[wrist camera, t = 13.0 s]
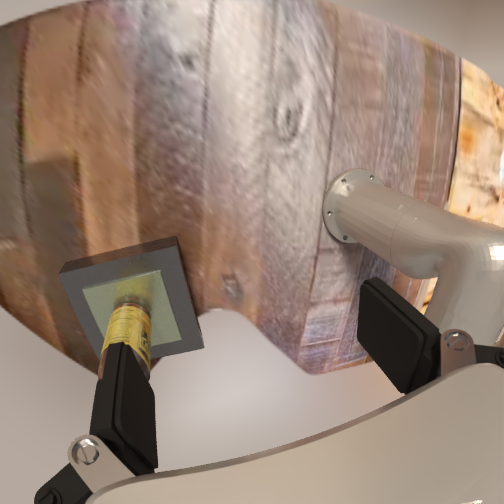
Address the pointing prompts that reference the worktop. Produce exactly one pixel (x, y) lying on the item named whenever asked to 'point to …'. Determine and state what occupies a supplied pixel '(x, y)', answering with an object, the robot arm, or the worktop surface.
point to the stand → (135, 294)
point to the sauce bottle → (129, 334)
